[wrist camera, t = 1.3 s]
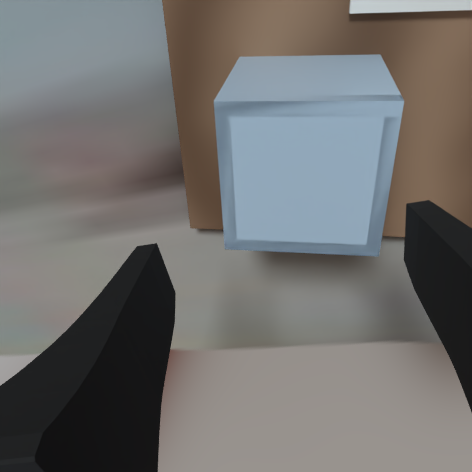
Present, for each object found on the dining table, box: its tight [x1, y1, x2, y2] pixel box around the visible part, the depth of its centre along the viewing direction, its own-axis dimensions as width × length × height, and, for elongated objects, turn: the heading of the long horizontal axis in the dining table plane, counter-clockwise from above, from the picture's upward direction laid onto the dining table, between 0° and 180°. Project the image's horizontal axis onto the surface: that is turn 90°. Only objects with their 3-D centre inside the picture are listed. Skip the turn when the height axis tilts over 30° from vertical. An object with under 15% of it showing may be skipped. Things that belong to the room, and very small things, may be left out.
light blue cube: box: [214, 54, 404, 256], centre depth 18 cm, size 6×6×6 cm
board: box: [162, 0, 472, 237], centre depth 18 cm, size 18×20×1 cm
